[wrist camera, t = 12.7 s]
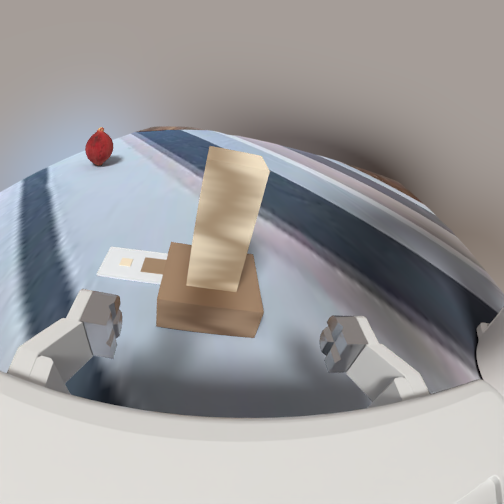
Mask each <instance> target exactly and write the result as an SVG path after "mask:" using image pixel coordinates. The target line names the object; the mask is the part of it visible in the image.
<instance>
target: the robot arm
mask: <svg viewBox="0 0 504 504" xmlns="http://www.w3.org/2000/svg"><path fill="white" fill-rule="evenodd" d="M119 306H120V297H119V296H118V295H114V294H109V293H103V292H98V291H91V290H86V289H81V290H80V291H79V293H78V295H77V297H76V299H75V301H74V303H73V305H72V307H71V309H70V311H69V313H68V315H67V317H66V319H65V318H62V319H60V320H59V321H57V322H56V323H54V324H53V325H51V326H50V327H48V328H46V329H45V330H43V331H42V332H40V333H39V334H37V335H36V336H34V337H33V338H31V339H30V340H28V341H27V342H25V343H24V344H23V345H21V346H20V347H18V349H17V352H16V354H15V356H14V358H13V360H12V362H11V365H10V367H9V369H8V372H7V373H5V372H2V371H0V504H504V307H503V308H502V309H501V311H500V312H499V313H498V315H497V316H496V317H495V318H494V320H493V321H492V322H491V323H490V324H488V323H481V324H480V325H479V326H478V327H477V335H478V339H479V341H478V345H477V350H476V356H477V363H478V367H479V370H480V373H481V375H482V378H483V380H481V379H478V380H474V381H472V382H469V383H466V384H463V385H460V386H457V387H454V388H451V389H447V390H444V391H441V392H437V393H434V394H430V393H429V391H428V389H427V387H426V385H425V383H424V381H423V379H422V377H421V375H420V373H419V372H417V371H416V370H415V369H414V368H412V367H411V366H410V365H409V364H407V363H406V362H405V361H403V360H402V359H401V358H400V357H398V356H397V355H396V354H394V353H393V352H392V351H391V350H389V349H388V348H387V347H385V346H384V345H383V344H379V342H378V340H377V338H376V336H375V334H374V332H373V331H372V329H371V327H370V325H369V323H368V321H367V319H366V318H365V317H364V316H331V317H330V318H329V320H328V321H327V324H328V327H327V328H325V329H324V330H323V331H322V333H321V335H320V348H321V352H322V353H324V354H325V355H326V357H325V360H324V361H325V364H326V367H327V370H328V373H341V372H346V374H347V375H348V376H349V377H350V378H351V379H352V380H353V381H354V382H355V383H356V385H357V386H358V387H359V388H360V389H361V390H362V391H363V392H364V393H365V394H366V395H367V396H368V397H369V399H370V400H371V401H372V403H371V404H370V405H369V406H368V407H367V408H366V409H360V410H353V411H346V412H338V413H330V414H320V415H309V416H296V417H276V418H223V417H203V416H189V415H179V414H169V413H161V412H153V411H146V410H140V409H134V408H128V407H122V406H117V405H112V404H107V403H102V402H98V401H93V400H89V399H85V398H81V397H77V396H73V395H71V394H70V393H69V391H68V389H67V387H66V386H65V383H66V382H67V381H68V380H69V379H70V378H71V377H72V376H73V375H74V374H75V373H76V372H77V371H78V370H79V369H80V368H81V367H82V366H83V365H84V364H85V363H86V362H87V361H89V360H90V359H91V358H92V357H93V356H92V355H94V356H99V357H105V358H111V359H113V358H114V355H115V351H116V347H117V342H116V338H118V337H119V336H120V333H121V328H122V312H121V311H120V310H119Z"/></svg>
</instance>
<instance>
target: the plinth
mask: <svg viewBox="0 0 504 504" xmlns="http://www.w3.org/2000/svg"><path fill="white" fill-rule="evenodd" d="M191 248H192V245H187V244H181V243H174V242H171V245H170V248H169V252H168V256H167V260H166V264H165V268H164V272H163V276H162V280H161V284H160V289H159V293H158V297H157V320H156V326H157V327H164V328H171V329H178V330H185V331H193V332H201V333H210V334H219V335H228V336H239V337H250V338H254V337H255V334H256V332H257V329H258V326H259V324H260V321H261V319H262V316H263V313H264V311H263V306H262V300H261V295H260V289H259V284H258V278H257V273H256V267H255V262H254V256H253V254H247V255H246V259H245V263H244V266H243V270H242V273H241V277H240V281H239V284H238V288H237V292H231V291H223V290H216V289H208V288H201V287H194V286H187V285H186V284H187V276H188V269H189V262H190V255H191Z"/></svg>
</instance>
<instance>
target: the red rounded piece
mask: <svg viewBox="0 0 504 504" xmlns="http://www.w3.org/2000/svg"><path fill="white" fill-rule="evenodd" d="M85 150H86V155H87V157H88V159H89V160H90V161H91V162H92V163H94V164H96V165H97V166H100V165H102V164H103V163H104V162H105V161H106V160H107V159H108V158H109V157H110V156H111V154H112V151H113V142H112V139H111V138H110V137H109V135H107V134H106V133H105V132H104V128H103V127H100V128H99V129H98V130H97V132H96V133H95V134H93V135H92V136H91V138H90V139H89V140H88V142H87V144H86V149H85Z"/></svg>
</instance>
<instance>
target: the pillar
mask: <svg viewBox="0 0 504 504" xmlns="http://www.w3.org/2000/svg"><path fill="white" fill-rule="evenodd" d="M269 172H270V171H269V169H268V167H267V165H266V163H265V161H264V160H263V158H262V156H258V155H254V154H249V153H244V152H239V151H234V150H229V149H223V148H218V147H212V146H210V147H209V152H208V157H207V162H206V167H205V172H204V177H203V183H202V188H201V194H200V199H199V205H198V211H197V217H196V223H195V229H194V235H193V241H192V248H191V255H190V262H189V269H188V276H187V284H186V285H187V286H194V287H201V288H208V289H216V290H223V291H231V292H237V288H238V284H239V281H240V277H241V273H242V270H243V266H244V263H245V259H246V255H247V252H248V248H249V244H250V241H251V237H252V233H253V230H254V226H255V223H256V219H257V215H258V212H259V208H260V205H261V201H262V197H263V194H264V190H265V187H266V183H267V179H268V176H269Z"/></svg>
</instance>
